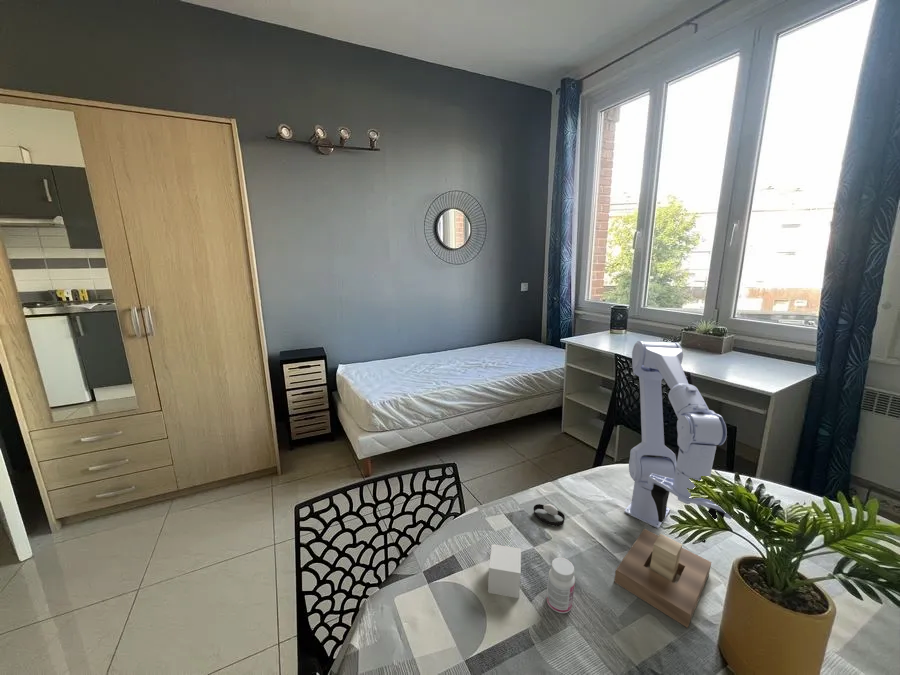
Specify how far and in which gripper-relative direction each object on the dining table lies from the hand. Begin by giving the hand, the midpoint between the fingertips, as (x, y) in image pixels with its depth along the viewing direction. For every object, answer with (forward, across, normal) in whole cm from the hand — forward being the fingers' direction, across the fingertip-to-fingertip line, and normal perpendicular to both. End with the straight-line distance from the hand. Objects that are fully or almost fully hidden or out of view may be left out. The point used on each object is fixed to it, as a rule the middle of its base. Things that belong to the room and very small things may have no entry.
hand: (681, 529), depth 76 cm
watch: (+10, -26, -7) cm, 29 cm away
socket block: (+9, -1, -5) cm, 11 cm away
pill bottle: (+10, -13, -25) cm, 30 cm away
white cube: (+10, -23, -29) cm, 38 cm away
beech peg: (+9, -1, -5) cm, 10 cm away
